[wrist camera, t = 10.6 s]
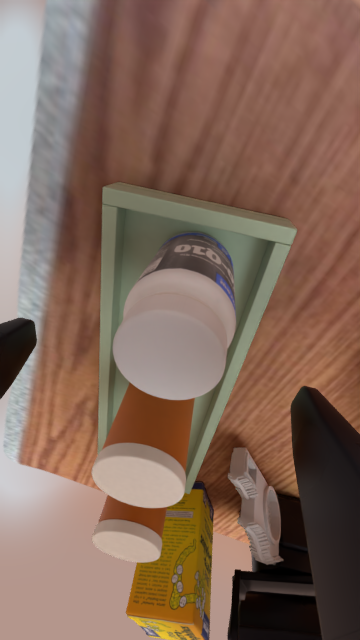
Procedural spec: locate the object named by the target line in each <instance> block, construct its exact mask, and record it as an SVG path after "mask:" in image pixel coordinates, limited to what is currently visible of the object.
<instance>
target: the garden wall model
mask: <svg viewBox="0 0 360 640" xmlns="http://www.w3.org/2000/svg"><path fill="white" fill-rule="evenodd" d="M228 479H229V480H231V482H233V484H234V486H236V490H237V491H238V492H239V494H240V495H241V497H242V505H241V517H240V518H238V522H237V523H238V524H240V525H241V526H242V527H243V528H244V529H245V530H246V531H245V532H246V533H247V536H248V539H249V540H250V544H251V546H249V547H250V548H251V550H250V551H252V554H253V555H254V557H255V560H257V561H259V562H262V563H265V564H266V565H268V564H270V565H271V564H273V565H275V564H276V563H277V562H280V561H284V560H283V559H282V558H280V556H279V540H280V534H281V518H280V509H279V503H278V499H277V495H276V492H275V490H274V488H273V487H272V486H268V484H267V482H266V481H265V479H264V477H263V476H262V474H261V472H260V471H259V469H258V467H257V465H256V464H255V462H254V460H253V459H252V457H251V455H250V454H249V452H248V450H247V448H246V447H244V448H234V451H233V453H232V456H231V464H230V473H228Z"/></svg>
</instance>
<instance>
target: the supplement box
mask: <svg viewBox="0 0 360 640" xmlns="http://www.w3.org/2000/svg"><path fill="white" fill-rule="evenodd" d="M213 515H214V510H213V508H212V506H211V504H210V501H209V499H208V496H207V493H206V490H205V487H204V484H203V482H194V484H193V487H192V489H191V492H190V494H187V493H184V495H183V497H182V499H181V500H180V501H179V502H177V503H176V504H174V505H171V506H168V507H167V510H166V517H165V523H164V529H163V535H162V549H161V555H160V557H159V558H158V559H157V560H155V561H152V562H144V563H142V562H137V566H136V570H135V574H134V579H133V584H132V588H131V592H130V597H129V602H128V606H127V610H126V614H127V616H128V617H129V618H130V619H133V620H134V621H135V622H136V623H137V624H138V625H139V626H140V627H141V628H142V629H143V630H144V631H145V632H146V634H147V635H148V636H149V637H155V638H162V639H168V640H209V631H210V595H211V568H212V542H213V541H212V540H213Z"/></svg>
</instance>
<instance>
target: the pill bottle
mask: <svg viewBox="0 0 360 640" xmlns="http://www.w3.org/2000/svg"><path fill="white" fill-rule="evenodd" d="M235 308H236V307H235V285H234V267H233V262H232V259H231V256H230V254H229V252H228V251H227V249H226V248H225V247H224V246H223V244H222V243H221V242H219V241H218V240H217V239H215V238H214V237H212V236H210V235H208V234H205V233H202V232H185V233H181V234H178V235H175V236H173V237H172V238H170V239H169V240H167V241H166V242H165V243H164V244H163V245H162V247H161V248H160V249H159V251H158V252H157V254H156V255H155V256H154V258H153V259H152V260H151V262H150V263H149V265H148V266H147V267H146V269H145V270H144V272H143V273H142V275H141V276H140V278H139V279H138V281H137V282H136V283H135V285H134V286H133V288H132V289H131V291H130V292H129V294H128V297H127V299H126V302H125V305H124V311H123V321H122V323H121V325H120V326H119V328H118V330H117V332H116V334H115V337H114V340H113V355H114V360H115V362H116V365H117V367H118V369H119V370H120V372H121V373H122V374H123V376H124V377H125V378H126V379H127V380H128V381H129V382H130V383H132V384H133V385H134V386H135V387H137V388H138V389H140V390H142V391H144V392H145V393H147V394H150V395H153V396H156V397H159V398H164V399H169V400H187V399H192V398H195V397H199V396H201V395H204V394H205V393H207V392H209V391H210V390H211V389H213V388H214V387H215V386H216V385H217V384H218V383H219V381H220V380H221V378H222V376H223V373H224V371H225V366H226V355H227V348H228V347H229V345H230V344H231V342H232V339H233V337H234V333H235V329H236V311H235Z"/></svg>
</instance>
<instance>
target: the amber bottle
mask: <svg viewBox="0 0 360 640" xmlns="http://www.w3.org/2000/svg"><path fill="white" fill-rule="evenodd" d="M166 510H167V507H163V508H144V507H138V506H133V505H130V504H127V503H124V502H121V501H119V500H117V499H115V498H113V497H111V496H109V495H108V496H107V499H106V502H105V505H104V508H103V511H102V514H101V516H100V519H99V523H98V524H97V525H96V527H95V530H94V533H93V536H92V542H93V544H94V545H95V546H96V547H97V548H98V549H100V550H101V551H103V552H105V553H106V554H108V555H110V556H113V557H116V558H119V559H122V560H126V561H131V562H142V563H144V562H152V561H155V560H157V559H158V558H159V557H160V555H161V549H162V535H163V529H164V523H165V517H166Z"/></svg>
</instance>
